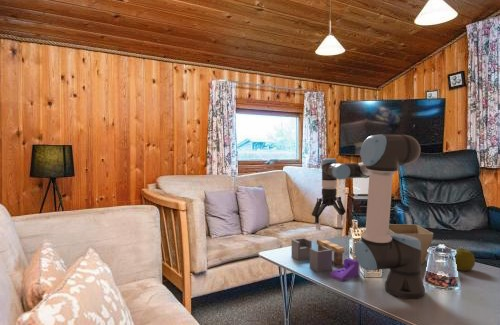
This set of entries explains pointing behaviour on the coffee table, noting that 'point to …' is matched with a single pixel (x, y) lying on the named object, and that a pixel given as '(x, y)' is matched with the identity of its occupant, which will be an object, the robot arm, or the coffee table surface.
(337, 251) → the slat
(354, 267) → the bracket
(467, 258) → the apple
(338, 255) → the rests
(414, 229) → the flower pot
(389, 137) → the robot arm
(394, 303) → the coffee table surface
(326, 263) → the end caps
